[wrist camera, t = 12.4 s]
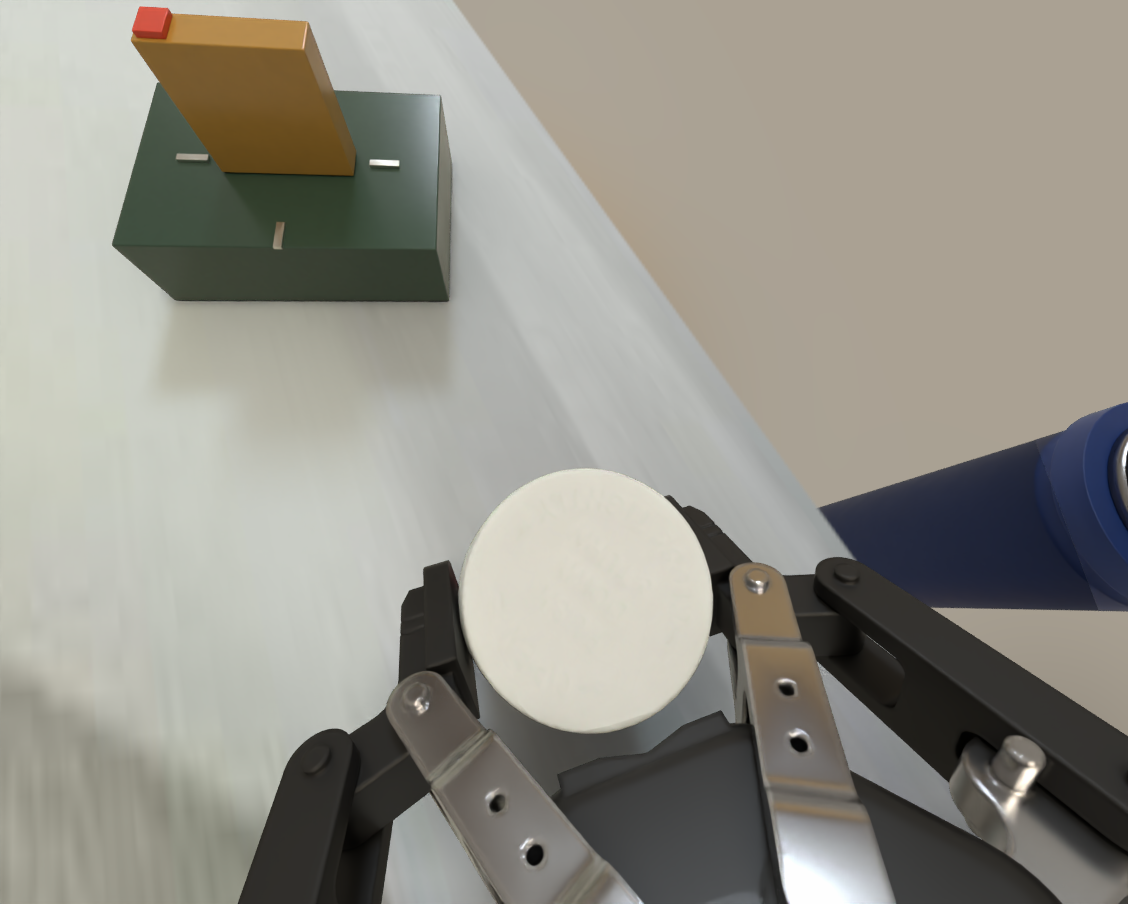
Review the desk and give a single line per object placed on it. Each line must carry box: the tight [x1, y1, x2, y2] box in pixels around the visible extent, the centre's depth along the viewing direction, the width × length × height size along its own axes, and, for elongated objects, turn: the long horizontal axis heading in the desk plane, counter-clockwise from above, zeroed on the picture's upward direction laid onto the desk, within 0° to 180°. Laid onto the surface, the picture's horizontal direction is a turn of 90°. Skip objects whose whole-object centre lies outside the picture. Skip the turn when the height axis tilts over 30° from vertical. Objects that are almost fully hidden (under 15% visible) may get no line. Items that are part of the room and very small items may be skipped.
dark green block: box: [112, 82, 452, 301], centre depth 25 cm, size 14×10×4 cm
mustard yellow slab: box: [131, 7, 356, 176], centre depth 20 cm, size 6×2×6 cm, turn 93°
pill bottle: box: [458, 468, 713, 734], centre depth 15 cm, size 6×6×11 cm
